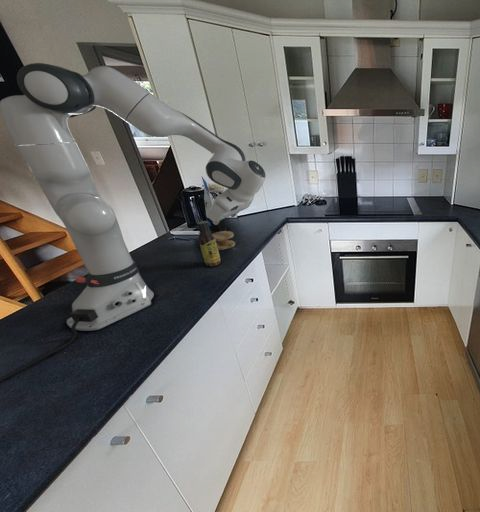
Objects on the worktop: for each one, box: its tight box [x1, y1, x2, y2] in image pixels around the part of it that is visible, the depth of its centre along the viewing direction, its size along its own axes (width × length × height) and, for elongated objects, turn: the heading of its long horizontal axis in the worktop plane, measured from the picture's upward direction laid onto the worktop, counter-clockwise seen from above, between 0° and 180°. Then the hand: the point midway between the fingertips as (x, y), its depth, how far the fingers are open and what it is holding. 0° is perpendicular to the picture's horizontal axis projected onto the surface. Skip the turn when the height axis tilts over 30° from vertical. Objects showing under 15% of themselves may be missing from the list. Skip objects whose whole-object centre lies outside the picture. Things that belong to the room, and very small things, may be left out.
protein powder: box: [201, 176, 228, 234], centre depth 156 cm, size 10×24×30 cm, turn 36°
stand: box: [212, 230, 236, 251], centre depth 141 cm, size 11×11×6 cm
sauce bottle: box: [196, 220, 222, 267], centre depth 120 cm, size 7×6×20 cm
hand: (224, 219), depth 112 cm, fingers open, 8 cm apart
